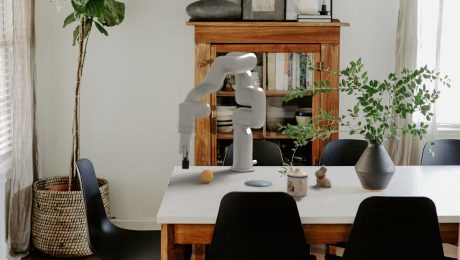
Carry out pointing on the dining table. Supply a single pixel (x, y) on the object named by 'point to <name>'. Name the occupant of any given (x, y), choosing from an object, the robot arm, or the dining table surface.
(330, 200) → the dining table surface
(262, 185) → the disc
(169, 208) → the dining table surface
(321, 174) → the chocolate bunny
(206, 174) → the ball
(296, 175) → the teacup with lid
